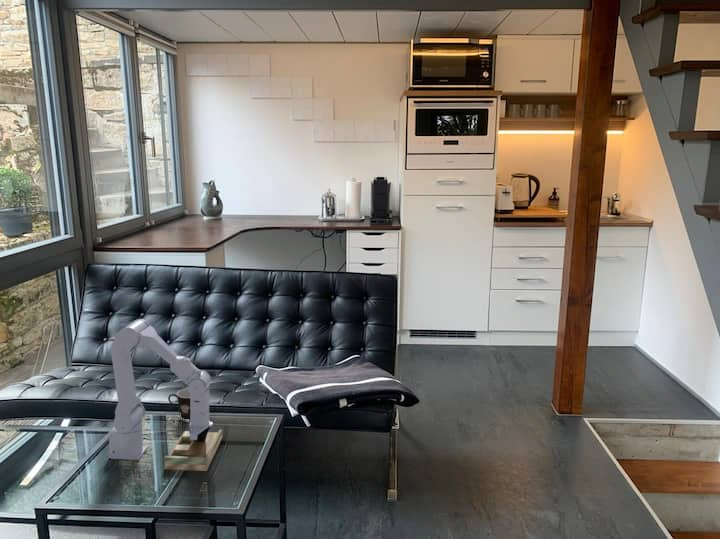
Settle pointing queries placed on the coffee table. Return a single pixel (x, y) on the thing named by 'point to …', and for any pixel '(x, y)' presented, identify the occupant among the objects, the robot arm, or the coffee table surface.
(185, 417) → the coffee mug
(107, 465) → the coffee table surface
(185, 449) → the trap deck
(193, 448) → the walnut block
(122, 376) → the robot arm
